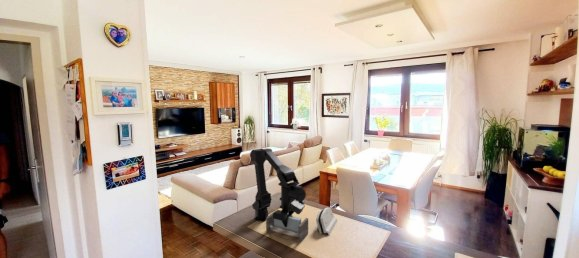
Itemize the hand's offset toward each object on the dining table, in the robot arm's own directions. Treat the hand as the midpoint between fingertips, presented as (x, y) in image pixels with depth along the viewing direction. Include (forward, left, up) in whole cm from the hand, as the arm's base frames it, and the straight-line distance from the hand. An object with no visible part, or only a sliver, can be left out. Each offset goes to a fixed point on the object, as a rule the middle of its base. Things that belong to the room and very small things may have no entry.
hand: (287, 225), depth 121 cm
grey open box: (0, 0, -4) cm, 4 cm away
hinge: (+15, +16, -4) cm, 22 cm away
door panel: (0, 0, -2) cm, 2 cm away
